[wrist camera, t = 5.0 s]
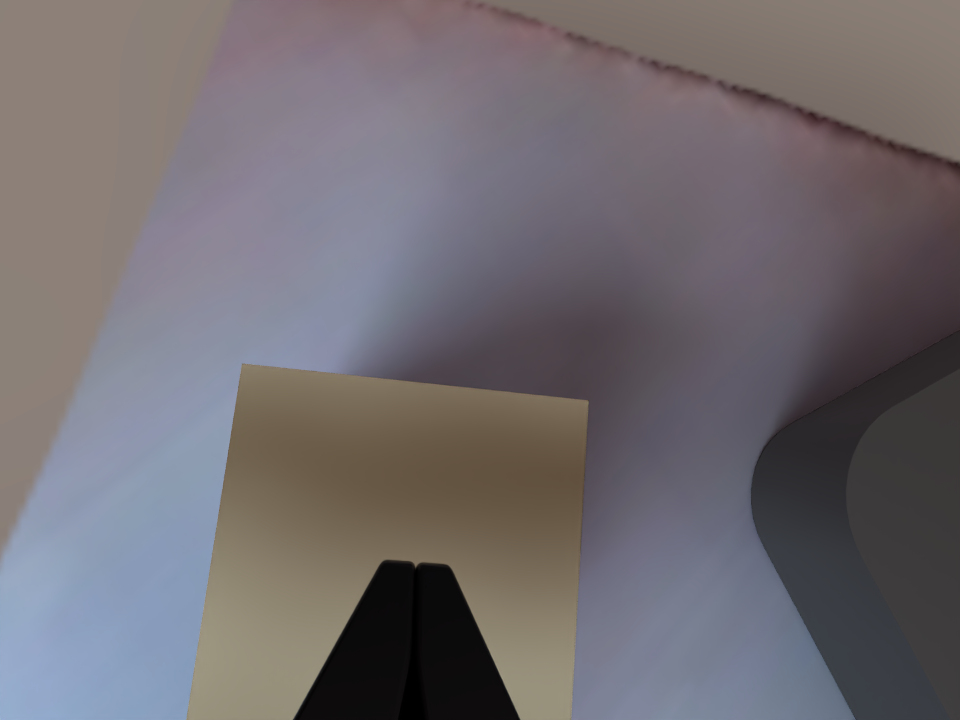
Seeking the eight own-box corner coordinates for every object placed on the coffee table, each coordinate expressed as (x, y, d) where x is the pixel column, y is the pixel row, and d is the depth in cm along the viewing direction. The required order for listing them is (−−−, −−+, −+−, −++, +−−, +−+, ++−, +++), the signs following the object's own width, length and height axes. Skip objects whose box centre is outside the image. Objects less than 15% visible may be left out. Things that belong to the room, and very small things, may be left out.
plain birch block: (481, 641, 21) (568, 769, 11) (278, 628, 20) (181, 753, 10) (497, 441, 22) (588, 401, 12) (305, 422, 21) (242, 363, 12)
